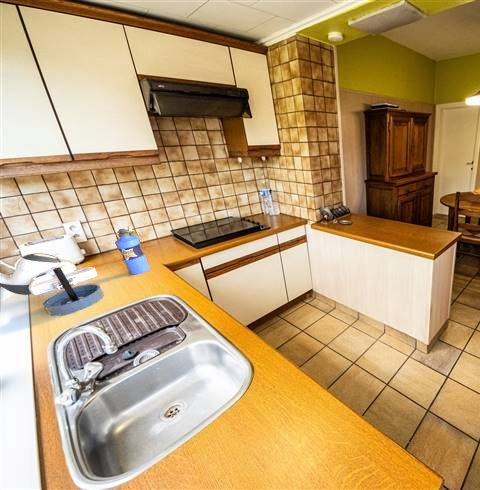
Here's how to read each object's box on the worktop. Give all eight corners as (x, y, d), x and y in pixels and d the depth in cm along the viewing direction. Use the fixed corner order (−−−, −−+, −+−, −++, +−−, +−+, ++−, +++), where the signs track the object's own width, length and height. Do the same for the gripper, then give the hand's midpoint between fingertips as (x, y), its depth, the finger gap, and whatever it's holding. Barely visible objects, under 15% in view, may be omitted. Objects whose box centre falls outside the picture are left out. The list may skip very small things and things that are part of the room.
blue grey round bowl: (51, 324, 108) (43, 312, 106) (50, 308, 119) (42, 297, 116) (108, 303, 120) (102, 292, 118) (102, 290, 131) (96, 280, 128)
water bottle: (134, 268, 152) (115, 227, 142) (153, 265, 154) (136, 225, 144) (126, 276, 144) (105, 233, 133) (146, 273, 146) (127, 230, 136)
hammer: (69, 309, 114) (46, 273, 106) (68, 304, 117) (46, 269, 110) (87, 303, 118) (66, 267, 110) (85, 298, 121) (65, 264, 114)
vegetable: (138, 254, 170) (125, 225, 162) (146, 253, 172) (134, 224, 164) (136, 257, 167) (123, 227, 159) (144, 255, 168) (132, 226, 160)
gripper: (97, 272, 130) (102, 281, 121) (34, 291, 116) (34, 303, 107) (91, 261, 127) (95, 269, 119) (26, 279, 113) (25, 290, 105)
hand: (66, 285), depth 113 cm, fingers closed on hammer, 2 cm apart
